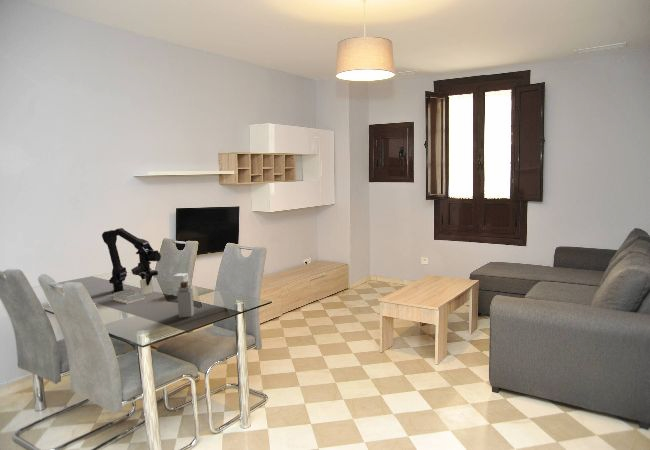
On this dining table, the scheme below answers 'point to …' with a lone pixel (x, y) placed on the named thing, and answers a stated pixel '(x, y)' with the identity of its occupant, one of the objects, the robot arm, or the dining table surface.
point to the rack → (128, 296)
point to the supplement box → (179, 281)
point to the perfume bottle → (185, 300)
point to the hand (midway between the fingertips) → (146, 285)
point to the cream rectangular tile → (144, 286)
